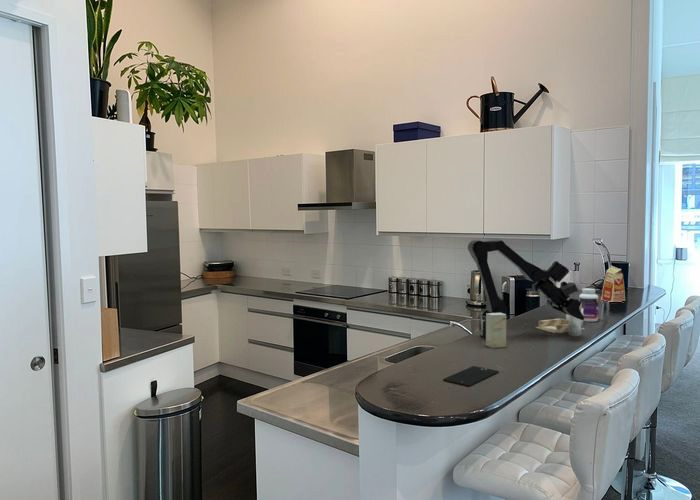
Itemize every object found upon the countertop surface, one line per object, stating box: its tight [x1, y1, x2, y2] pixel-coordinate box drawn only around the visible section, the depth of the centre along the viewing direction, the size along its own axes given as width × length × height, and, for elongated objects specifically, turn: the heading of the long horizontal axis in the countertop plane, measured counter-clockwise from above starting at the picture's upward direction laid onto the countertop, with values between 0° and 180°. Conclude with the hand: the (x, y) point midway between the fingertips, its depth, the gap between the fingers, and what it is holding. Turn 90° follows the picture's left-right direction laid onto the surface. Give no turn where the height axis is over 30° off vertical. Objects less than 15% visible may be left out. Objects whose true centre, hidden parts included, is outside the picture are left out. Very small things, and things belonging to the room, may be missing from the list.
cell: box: [568, 303, 582, 337], centre depth 207 cm, size 5×5×14 cm
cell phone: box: [442, 365, 500, 388], centre depth 155 cm, size 9×18×1 cm, turn 137°
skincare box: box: [485, 313, 507, 349], centre depth 191 cm, size 6×4×12 cm
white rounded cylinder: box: [565, 308, 584, 326], centre depth 229 cm, size 7×7×7 cm
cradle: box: [534, 318, 585, 334], centre depth 219 cm, size 16×11×3 cm
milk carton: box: [600, 265, 626, 303], centre depth 285 cm, size 9×9×20 cm
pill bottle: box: [578, 287, 599, 323], centre depth 235 cm, size 8×8×14 cm
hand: (577, 317), depth 207 cm, fingers open, 9 cm apart
